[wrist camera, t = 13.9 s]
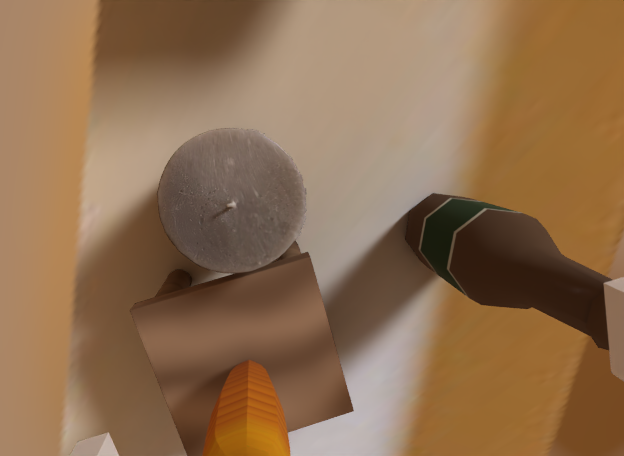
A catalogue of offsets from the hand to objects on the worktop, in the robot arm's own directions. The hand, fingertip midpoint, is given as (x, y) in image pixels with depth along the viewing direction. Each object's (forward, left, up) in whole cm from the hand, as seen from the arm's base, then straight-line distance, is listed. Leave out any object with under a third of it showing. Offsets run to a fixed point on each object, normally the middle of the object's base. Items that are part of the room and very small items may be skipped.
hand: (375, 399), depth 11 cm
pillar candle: (-4, -4, -32) cm, 33 cm away
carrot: (+9, -7, -22) cm, 25 cm away
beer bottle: (+6, +14, -32) cm, 36 cm away
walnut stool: (+9, -7, -32) cm, 34 cm away
